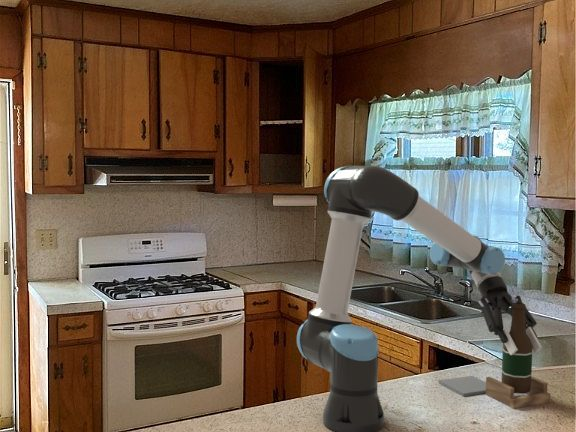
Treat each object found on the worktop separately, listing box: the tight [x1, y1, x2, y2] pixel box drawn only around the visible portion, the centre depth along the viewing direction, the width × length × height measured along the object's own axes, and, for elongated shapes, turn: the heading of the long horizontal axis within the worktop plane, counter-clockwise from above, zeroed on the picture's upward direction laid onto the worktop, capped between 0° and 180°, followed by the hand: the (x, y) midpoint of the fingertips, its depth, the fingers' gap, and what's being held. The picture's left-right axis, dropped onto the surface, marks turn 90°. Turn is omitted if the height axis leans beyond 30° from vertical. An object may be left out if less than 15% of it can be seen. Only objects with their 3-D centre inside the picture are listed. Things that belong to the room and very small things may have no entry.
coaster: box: [438, 375, 486, 397], centre depth 183 cm, size 12×12×1 cm
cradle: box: [485, 375, 551, 409], centre depth 173 cm, size 12×11×5 cm
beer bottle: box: [501, 302, 533, 395], centre depth 173 cm, size 8×8×24 cm
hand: (526, 351), depth 170 cm, fingers closed on beer bottle, 7 cm apart
